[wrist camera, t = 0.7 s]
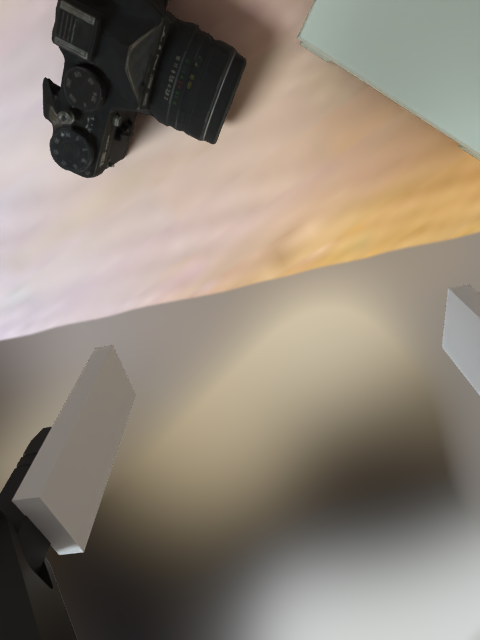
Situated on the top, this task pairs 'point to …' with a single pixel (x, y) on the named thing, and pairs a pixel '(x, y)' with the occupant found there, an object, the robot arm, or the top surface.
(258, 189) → the top surface
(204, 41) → the camera
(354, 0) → the stand
